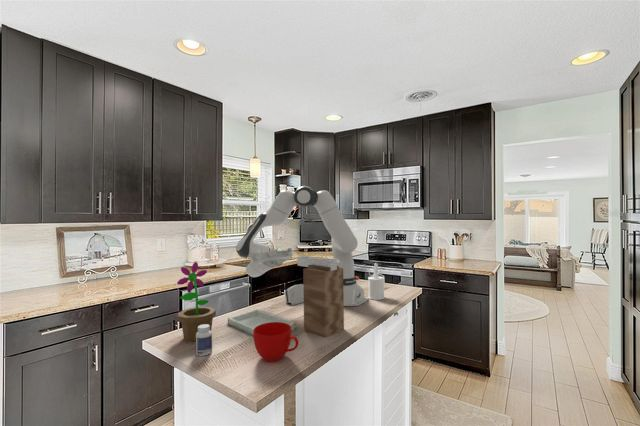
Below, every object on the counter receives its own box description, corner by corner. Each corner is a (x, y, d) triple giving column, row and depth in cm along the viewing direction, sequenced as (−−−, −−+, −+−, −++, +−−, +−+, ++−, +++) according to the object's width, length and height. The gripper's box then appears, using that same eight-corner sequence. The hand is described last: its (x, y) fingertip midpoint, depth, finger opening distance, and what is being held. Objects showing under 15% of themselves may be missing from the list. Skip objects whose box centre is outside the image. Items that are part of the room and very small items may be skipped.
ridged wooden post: (323, 322, 142) (322, 262, 142) (343, 328, 134) (343, 265, 133) (304, 329, 133) (303, 266, 133) (324, 337, 125) (323, 269, 125)
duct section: (303, 264, 144) (303, 255, 144) (337, 269, 131) (336, 259, 131) (297, 265, 141) (297, 256, 141) (330, 270, 128) (330, 261, 128)
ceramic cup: (286, 373, 98) (286, 341, 98) (245, 361, 106) (245, 331, 106) (308, 356, 109) (308, 327, 109) (269, 346, 117) (269, 319, 117)
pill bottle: (214, 352, 113) (214, 325, 113) (200, 358, 109) (200, 330, 109) (207, 348, 116) (206, 322, 116) (193, 353, 112) (192, 326, 112)
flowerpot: (206, 327, 137) (205, 259, 137) (222, 336, 127) (221, 262, 127) (172, 337, 127) (171, 263, 127) (186, 348, 117) (185, 267, 117)
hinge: (291, 305, 168) (287, 286, 171) (286, 306, 171) (282, 288, 174) (313, 298, 180) (309, 281, 183) (308, 300, 183) (304, 283, 186)
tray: (257, 315, 153) (257, 309, 153) (295, 329, 134) (295, 323, 134) (227, 323, 141) (227, 318, 141) (265, 341, 122) (265, 334, 122)
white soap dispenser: (374, 300, 174) (374, 265, 174) (364, 297, 182) (364, 262, 182) (389, 298, 179) (389, 263, 179) (379, 294, 188) (378, 261, 187)
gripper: (249, 256, 155) (265, 245, 147) (280, 253, 171) (296, 243, 163) (252, 268, 153) (268, 258, 145) (284, 264, 169) (300, 254, 161)
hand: (283, 250), depth 154 cm, fingers open, 8 cm apart
